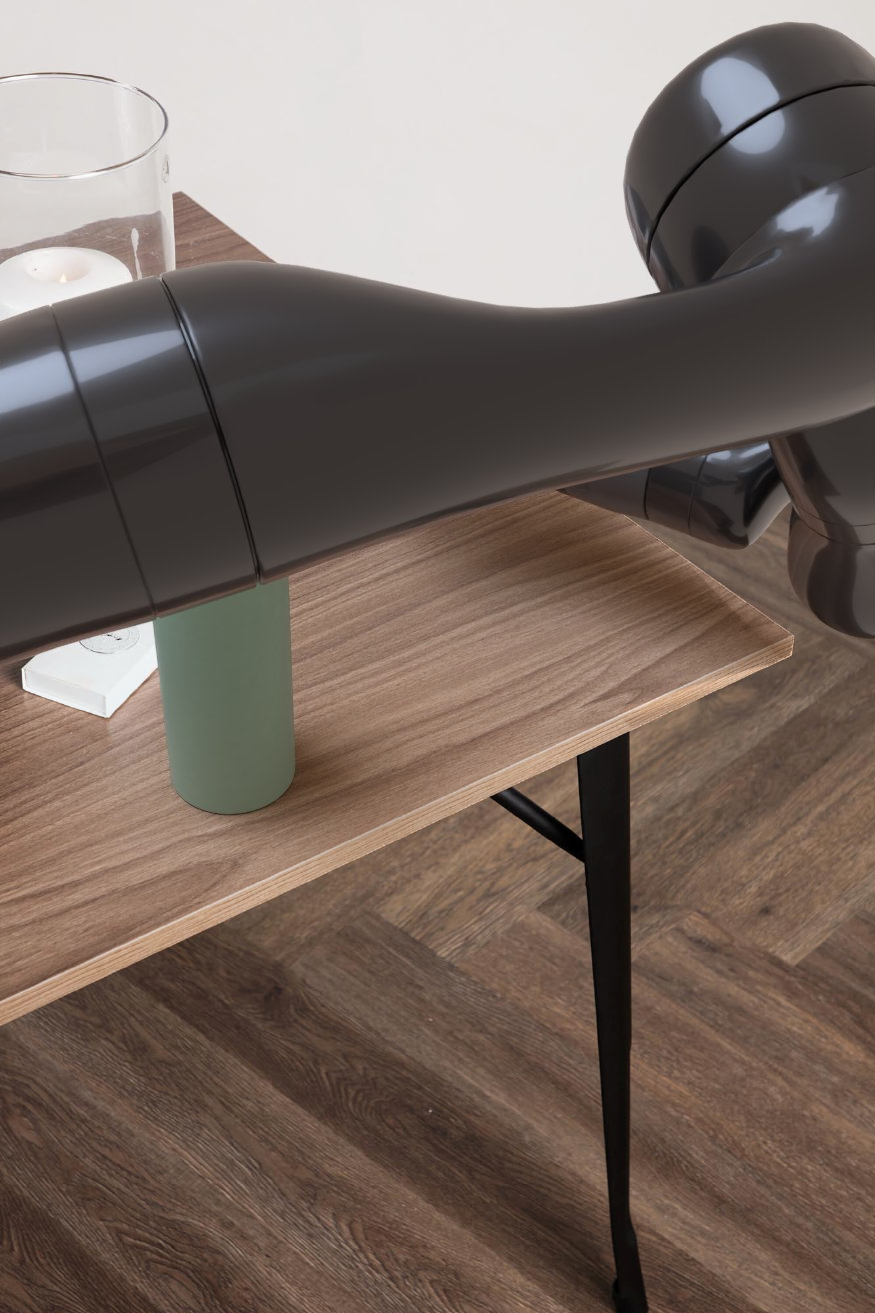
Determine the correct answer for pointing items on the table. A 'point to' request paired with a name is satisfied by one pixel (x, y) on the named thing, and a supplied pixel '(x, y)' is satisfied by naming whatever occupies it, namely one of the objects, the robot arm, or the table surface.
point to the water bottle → (229, 699)
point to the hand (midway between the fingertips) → (355, 348)
